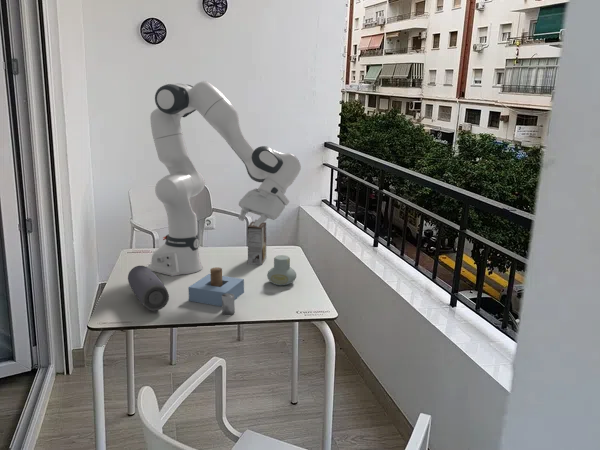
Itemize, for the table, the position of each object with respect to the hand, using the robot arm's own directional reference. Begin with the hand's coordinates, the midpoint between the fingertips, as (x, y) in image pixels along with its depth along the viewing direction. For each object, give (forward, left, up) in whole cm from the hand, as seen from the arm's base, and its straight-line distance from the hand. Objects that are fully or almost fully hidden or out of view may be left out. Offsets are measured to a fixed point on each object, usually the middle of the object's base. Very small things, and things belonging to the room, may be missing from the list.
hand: (247, 222), depth 182 cm
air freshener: (+10, +9, -25) cm, 28 cm away
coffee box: (-9, +29, -25) cm, 39 cm away
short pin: (+4, -23, -25) cm, 34 cm away
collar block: (-6, -12, -24) cm, 28 cm away
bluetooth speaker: (-26, -24, -25) cm, 43 cm away
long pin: (-6, -12, -24) cm, 28 cm away
